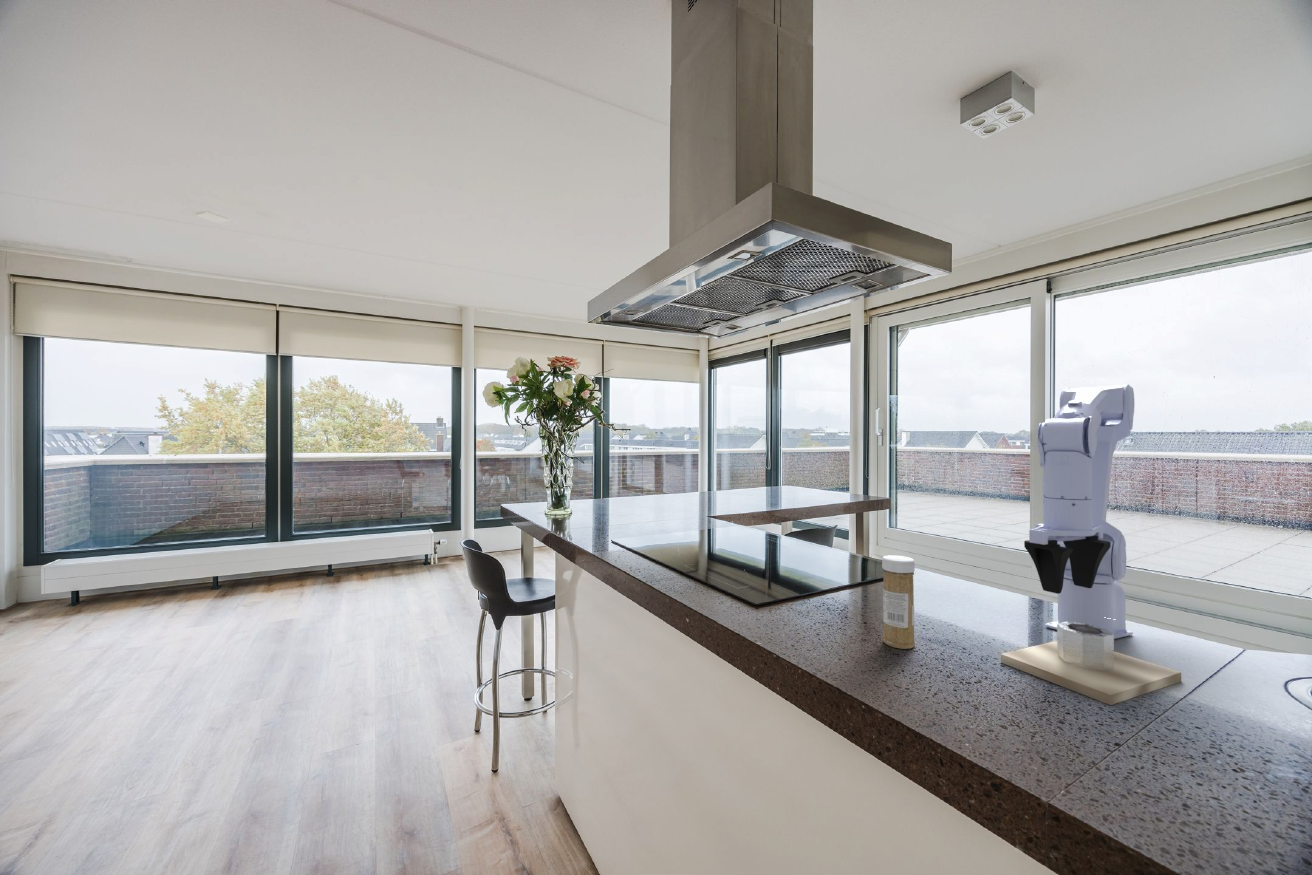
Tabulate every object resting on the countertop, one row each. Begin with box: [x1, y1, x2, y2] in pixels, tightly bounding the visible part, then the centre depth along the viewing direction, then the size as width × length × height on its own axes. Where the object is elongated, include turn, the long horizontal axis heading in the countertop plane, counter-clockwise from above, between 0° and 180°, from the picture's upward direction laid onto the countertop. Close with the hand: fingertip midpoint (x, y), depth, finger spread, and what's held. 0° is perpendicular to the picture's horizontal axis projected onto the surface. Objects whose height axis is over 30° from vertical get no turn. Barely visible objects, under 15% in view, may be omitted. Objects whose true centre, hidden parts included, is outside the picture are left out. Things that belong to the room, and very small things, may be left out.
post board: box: [1000, 626, 1182, 706], centre depth 70 cm, size 16×13×6 cm
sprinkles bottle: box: [881, 554, 916, 650], centre depth 80 cm, size 5×5×13 cm
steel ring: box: [1056, 621, 1115, 671], centre depth 70 cm, size 6×6×4 cm
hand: (1067, 589), depth 77 cm, fingers open, 7 cm apart
